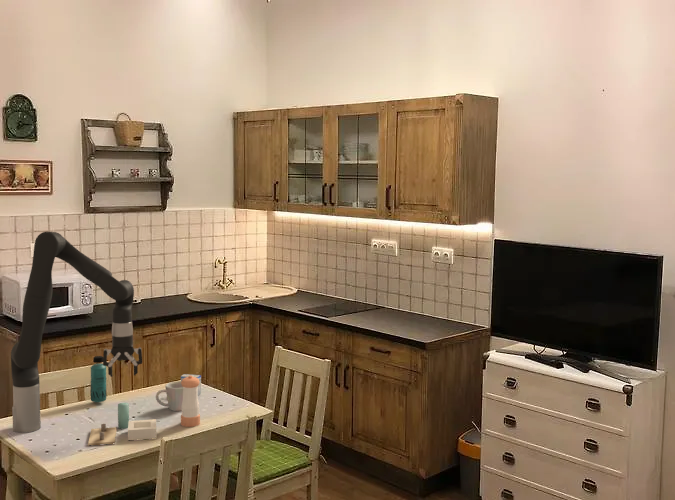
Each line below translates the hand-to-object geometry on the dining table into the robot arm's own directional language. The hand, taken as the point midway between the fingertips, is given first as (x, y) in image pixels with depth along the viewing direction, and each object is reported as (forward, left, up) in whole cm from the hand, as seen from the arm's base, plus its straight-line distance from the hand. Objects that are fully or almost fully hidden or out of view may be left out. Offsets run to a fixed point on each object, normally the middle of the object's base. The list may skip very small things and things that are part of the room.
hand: (123, 375), depth 282 cm
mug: (+19, +18, -20) cm, 33 cm away
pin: (0, 0, -20) cm, 20 cm away
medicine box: (+27, +36, -20) cm, 49 cm away
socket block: (+7, -10, -20) cm, 24 cm away
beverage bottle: (-11, +31, -20) cm, 39 cm away
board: (-7, -10, -20) cm, 24 cm away
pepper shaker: (+25, -1, -20) cm, 32 cm away
